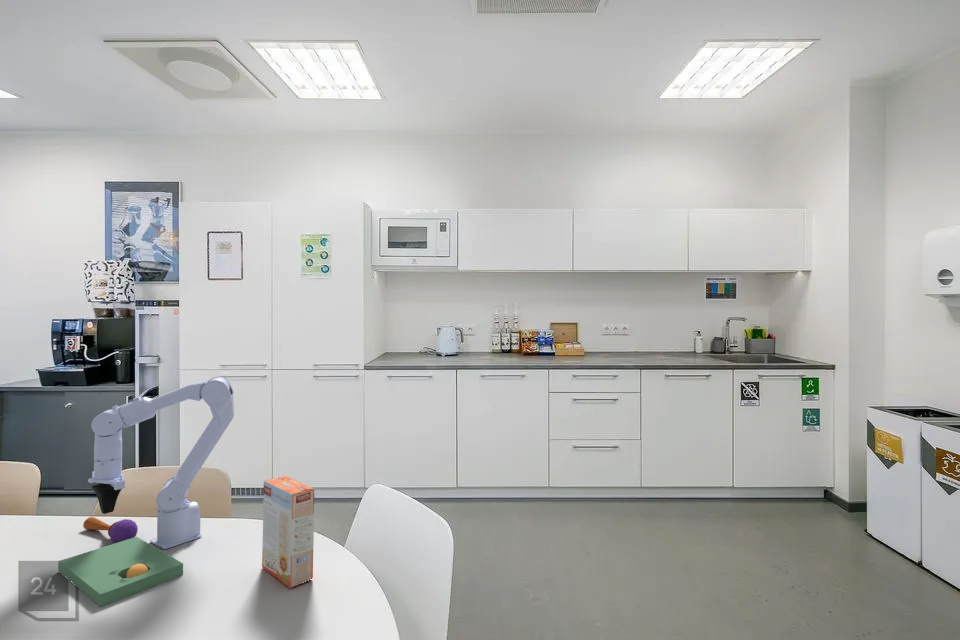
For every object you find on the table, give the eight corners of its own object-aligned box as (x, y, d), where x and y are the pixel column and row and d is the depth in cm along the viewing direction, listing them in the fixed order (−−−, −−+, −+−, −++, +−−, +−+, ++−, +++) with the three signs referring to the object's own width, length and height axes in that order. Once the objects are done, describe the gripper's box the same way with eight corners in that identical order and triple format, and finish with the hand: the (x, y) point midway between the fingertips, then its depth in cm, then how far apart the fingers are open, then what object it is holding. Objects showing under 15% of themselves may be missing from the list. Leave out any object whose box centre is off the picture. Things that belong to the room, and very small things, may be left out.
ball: (144, 565, 115) (149, 559, 113) (145, 583, 113) (151, 577, 111) (123, 569, 112) (128, 563, 110) (124, 588, 110) (130, 583, 108)
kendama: (104, 510, 143) (144, 519, 133) (100, 532, 142) (140, 543, 132) (79, 513, 138) (119, 522, 128) (75, 536, 136) (115, 547, 127)
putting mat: (136, 546, 129) (136, 536, 129) (183, 574, 116) (183, 563, 116) (58, 571, 116) (58, 561, 116) (100, 606, 102) (100, 594, 102)
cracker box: (314, 580, 114) (316, 487, 114) (289, 590, 110) (290, 494, 110) (285, 559, 124) (286, 474, 123) (261, 568, 119) (262, 479, 119)
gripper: (77, 457, 128) (77, 510, 128) (101, 467, 120) (100, 524, 120) (110, 451, 134) (109, 502, 134) (134, 460, 126) (134, 515, 126)
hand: (107, 512), depth 127 cm, fingers closed
